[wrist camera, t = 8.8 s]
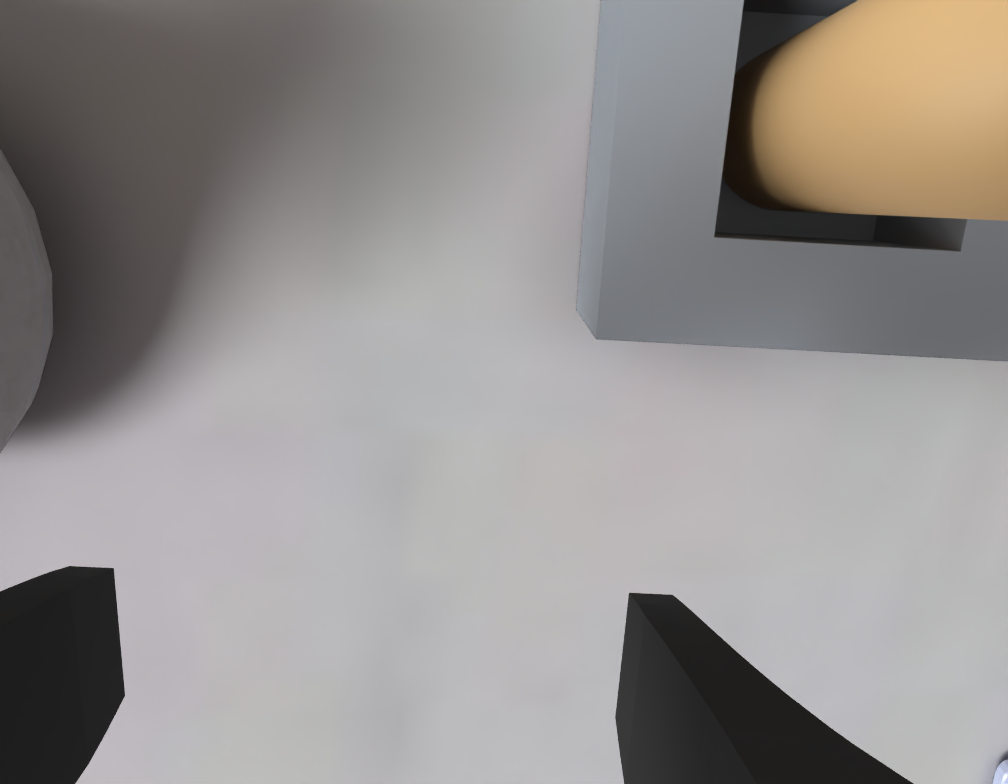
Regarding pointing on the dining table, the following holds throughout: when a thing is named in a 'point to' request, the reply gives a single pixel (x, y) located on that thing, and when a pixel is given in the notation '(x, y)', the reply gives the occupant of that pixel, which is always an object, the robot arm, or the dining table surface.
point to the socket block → (753, 213)
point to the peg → (878, 114)
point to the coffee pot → (21, 303)
